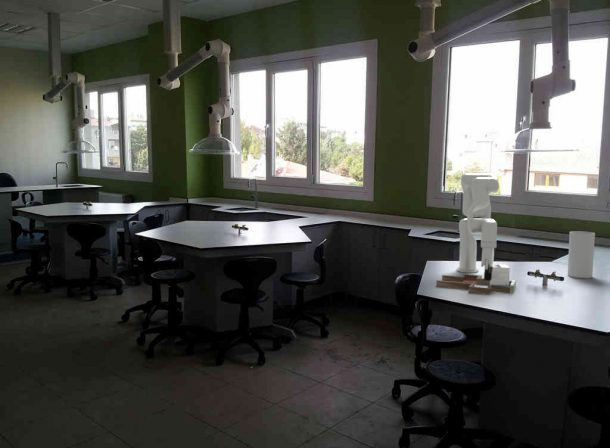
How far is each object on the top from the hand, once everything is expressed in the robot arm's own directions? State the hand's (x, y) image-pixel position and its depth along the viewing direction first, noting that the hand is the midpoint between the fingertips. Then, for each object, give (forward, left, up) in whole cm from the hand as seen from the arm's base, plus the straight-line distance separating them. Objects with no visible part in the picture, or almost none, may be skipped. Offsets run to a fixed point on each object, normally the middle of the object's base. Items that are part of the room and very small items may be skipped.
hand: (487, 279), depth 270 cm
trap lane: (0, -6, -4) cm, 8 cm away
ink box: (-1, +6, -4) cm, 7 cm away
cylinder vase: (-51, +44, -4) cm, 67 cm away
